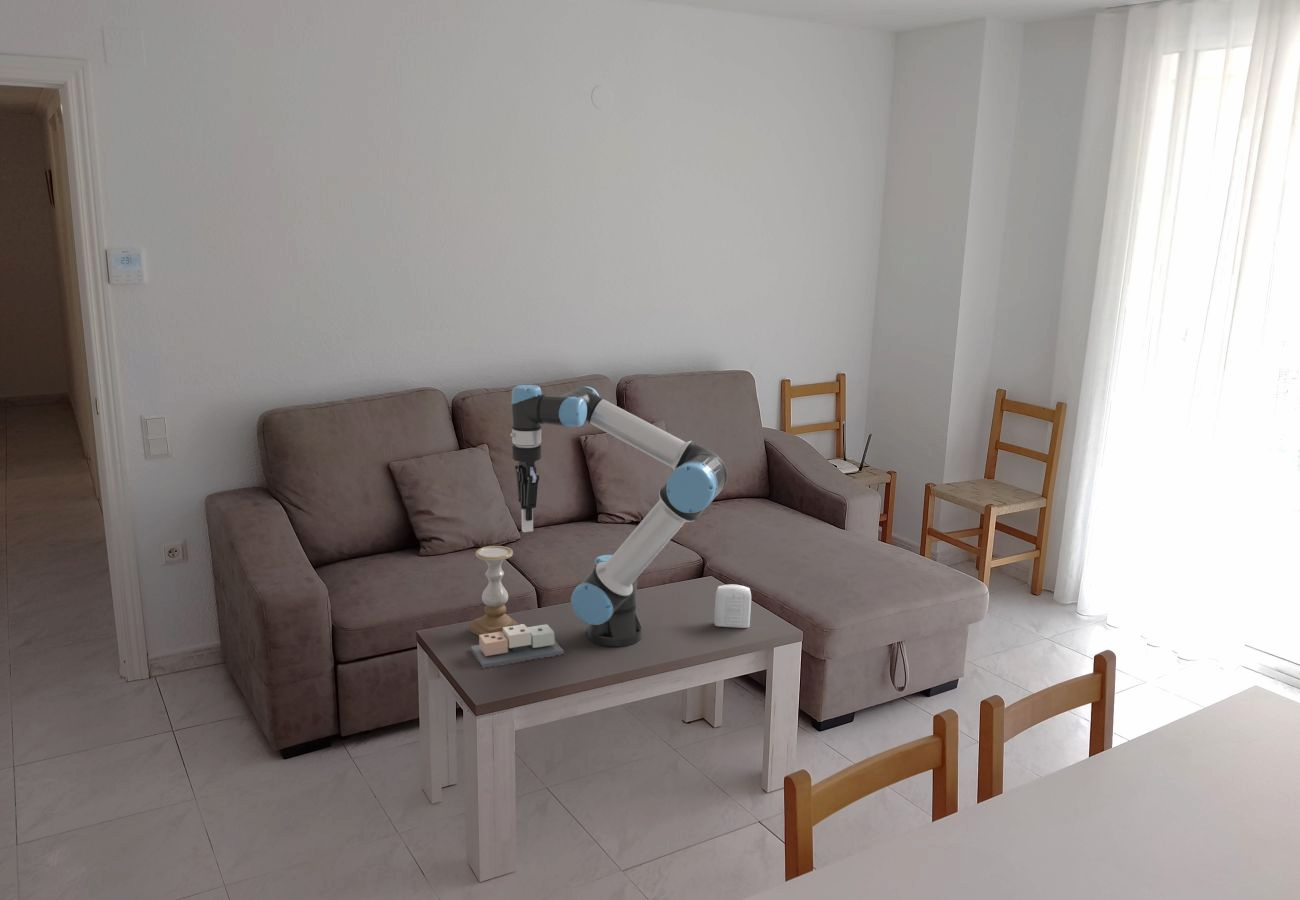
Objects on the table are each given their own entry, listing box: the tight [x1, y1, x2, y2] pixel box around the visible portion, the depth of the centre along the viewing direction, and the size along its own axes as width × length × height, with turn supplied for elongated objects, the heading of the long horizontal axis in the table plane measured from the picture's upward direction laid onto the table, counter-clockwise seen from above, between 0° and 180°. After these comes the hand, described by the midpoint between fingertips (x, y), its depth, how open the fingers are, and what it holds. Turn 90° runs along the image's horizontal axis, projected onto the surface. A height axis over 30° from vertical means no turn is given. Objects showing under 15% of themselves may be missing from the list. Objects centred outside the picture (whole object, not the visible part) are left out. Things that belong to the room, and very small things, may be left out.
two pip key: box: [503, 623, 531, 648], centre depth 272 cm, size 6×6×4 cm
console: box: [470, 639, 565, 669], centre depth 273 cm, size 22×12×4 cm, turn 115°
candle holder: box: [469, 545, 519, 637], centre depth 283 cm, size 11×11×24 cm
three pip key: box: [478, 632, 508, 656], centre depth 270 cm, size 6×6×4 cm
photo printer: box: [713, 583, 752, 629], centre depth 293 cm, size 10×4×12 cm, turn 86°
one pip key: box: [526, 623, 555, 648], centre depth 275 cm, size 6×6×4 cm
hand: (527, 530), depth 271 cm, fingers closed
